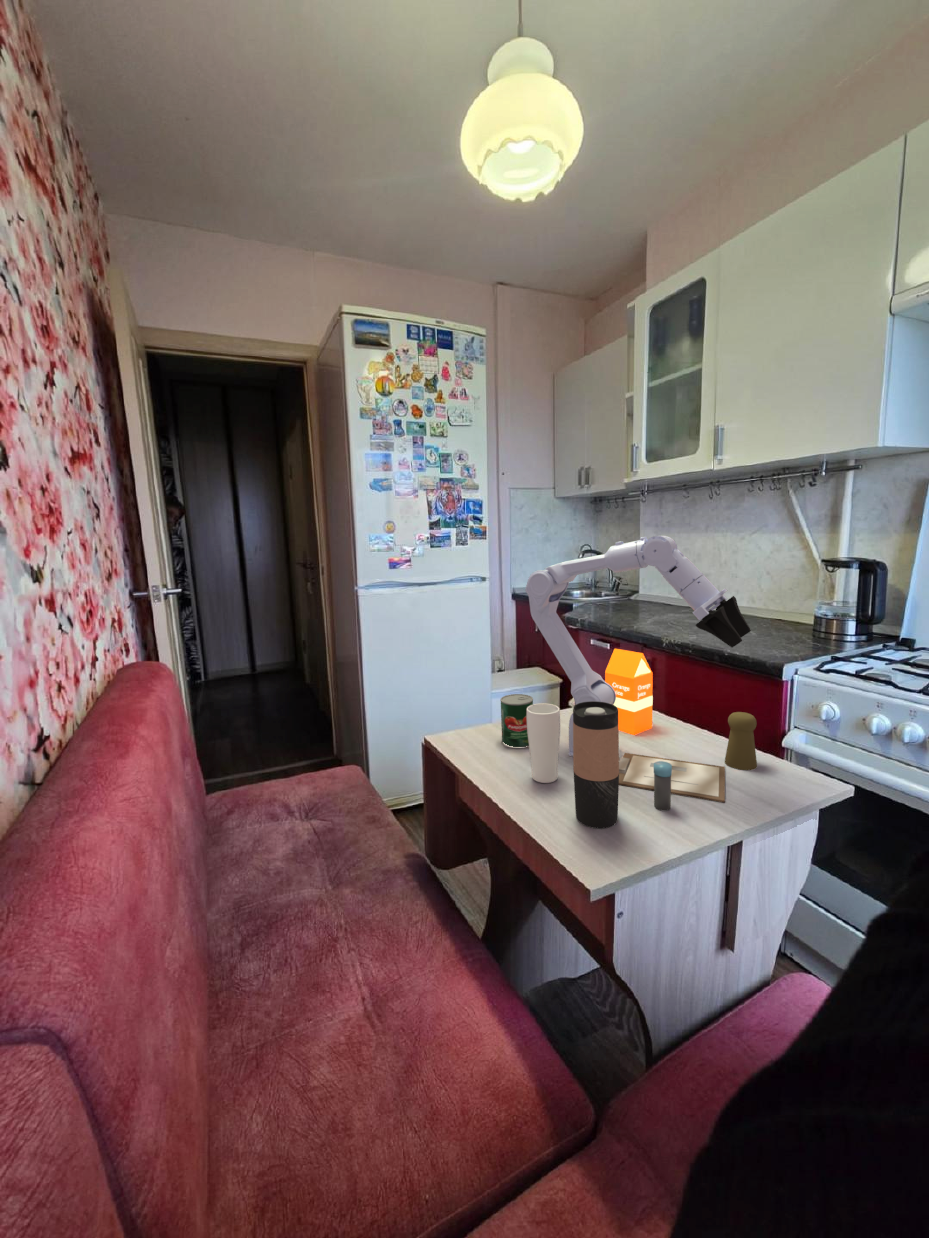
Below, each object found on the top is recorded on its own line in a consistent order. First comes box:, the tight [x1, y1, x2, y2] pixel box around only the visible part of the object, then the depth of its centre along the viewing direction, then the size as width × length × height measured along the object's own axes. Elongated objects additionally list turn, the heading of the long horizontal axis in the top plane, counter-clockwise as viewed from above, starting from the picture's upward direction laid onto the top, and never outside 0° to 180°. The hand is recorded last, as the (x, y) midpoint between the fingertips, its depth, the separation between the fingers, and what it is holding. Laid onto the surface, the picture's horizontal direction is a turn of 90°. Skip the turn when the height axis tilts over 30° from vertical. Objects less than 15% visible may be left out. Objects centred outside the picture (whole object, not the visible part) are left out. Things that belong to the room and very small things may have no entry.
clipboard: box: [619, 752, 726, 803], centre depth 103 cm, size 20×15×1 cm
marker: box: [653, 761, 672, 812], centre depth 91 cm, size 3×3×8 cm
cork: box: [724, 711, 758, 771], centre depth 106 cm, size 6×6×11 cm
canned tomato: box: [500, 693, 534, 748], centre depth 123 cm, size 8×8×11 cm
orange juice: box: [604, 648, 654, 736], centre depth 129 cm, size 8×9×20 cm
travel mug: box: [572, 701, 620, 830], centre depth 88 cm, size 8×8×20 cm
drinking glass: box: [526, 702, 561, 784], centre depth 104 cm, size 7×7×15 cm
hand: (741, 639), depth 95 cm, fingers open, 7 cm apart
